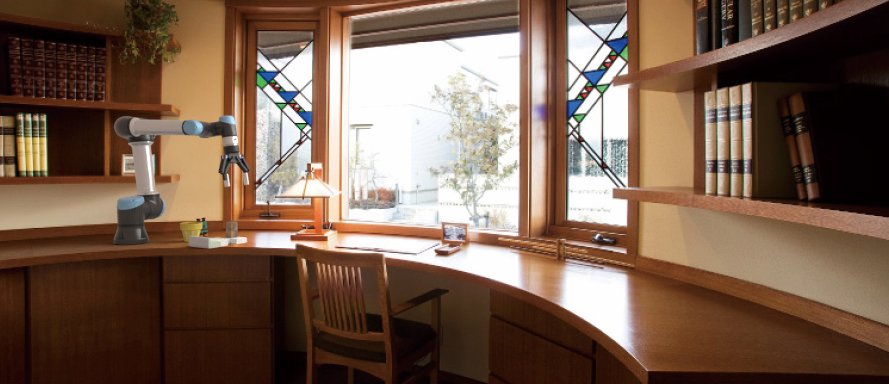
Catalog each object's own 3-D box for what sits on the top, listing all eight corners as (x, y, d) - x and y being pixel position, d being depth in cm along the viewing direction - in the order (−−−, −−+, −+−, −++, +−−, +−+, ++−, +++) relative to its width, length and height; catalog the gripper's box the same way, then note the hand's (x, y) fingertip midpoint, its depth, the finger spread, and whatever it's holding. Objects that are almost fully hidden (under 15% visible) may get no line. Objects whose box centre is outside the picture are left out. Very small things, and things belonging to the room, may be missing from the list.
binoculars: (193, 218, 285) (209, 216, 283) (195, 236, 285) (211, 235, 284) (183, 219, 276) (199, 218, 274) (185, 238, 276) (201, 237, 275)
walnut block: (232, 236, 262) (232, 221, 262) (237, 237, 261) (237, 221, 260) (225, 237, 259) (225, 222, 259) (231, 238, 257) (231, 222, 257)
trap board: (227, 240, 266) (227, 231, 266) (247, 242, 260) (246, 232, 260) (189, 246, 246) (188, 236, 245) (208, 248, 239) (208, 238, 239)
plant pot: (206, 240, 267) (206, 221, 266) (195, 243, 256) (194, 223, 256) (188, 239, 268) (187, 221, 267) (175, 242, 257) (175, 223, 257)
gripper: (218, 144, 250) (224, 186, 250) (253, 144, 273) (259, 183, 274) (206, 146, 252) (213, 188, 253) (242, 146, 276) (248, 184, 276)
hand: (237, 185), depth 263 cm, fingers open, 13 cm apart
